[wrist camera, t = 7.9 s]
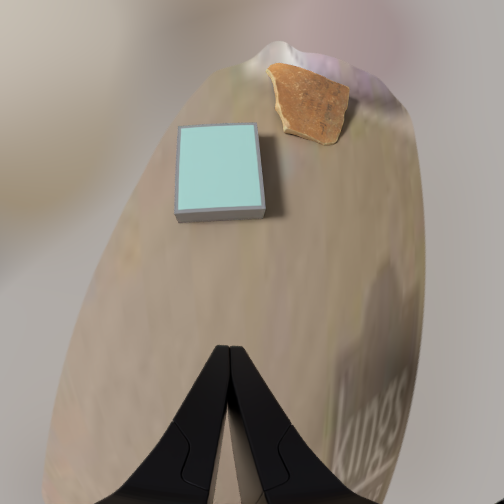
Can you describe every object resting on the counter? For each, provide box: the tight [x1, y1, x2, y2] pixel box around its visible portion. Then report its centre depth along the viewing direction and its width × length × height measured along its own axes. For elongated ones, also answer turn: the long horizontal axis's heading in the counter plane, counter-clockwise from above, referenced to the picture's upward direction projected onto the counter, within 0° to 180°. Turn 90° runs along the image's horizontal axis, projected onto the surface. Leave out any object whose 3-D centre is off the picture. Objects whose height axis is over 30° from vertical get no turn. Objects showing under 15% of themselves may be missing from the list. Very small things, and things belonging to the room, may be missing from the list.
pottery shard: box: [266, 63, 350, 146], centre depth 28 cm, size 10×9×2 cm
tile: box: [174, 123, 266, 223], centre depth 25 cm, size 2×7×8 cm
